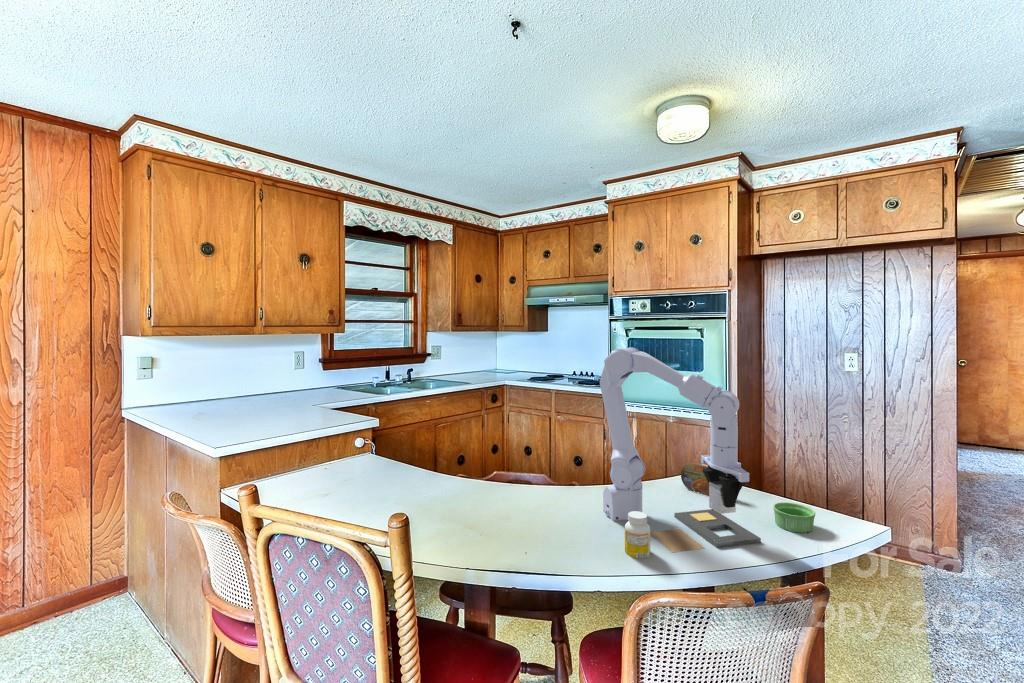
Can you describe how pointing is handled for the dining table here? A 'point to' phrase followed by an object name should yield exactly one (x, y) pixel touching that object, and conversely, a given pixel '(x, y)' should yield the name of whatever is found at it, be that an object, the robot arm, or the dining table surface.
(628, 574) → the dining table surface
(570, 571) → the dining table surface
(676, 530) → the pad
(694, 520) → the rack plate
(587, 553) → the dining table surface
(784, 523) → the ramekin
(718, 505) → the steel peg
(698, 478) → the tin
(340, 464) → the dining table surface
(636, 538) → the supplement bottle
